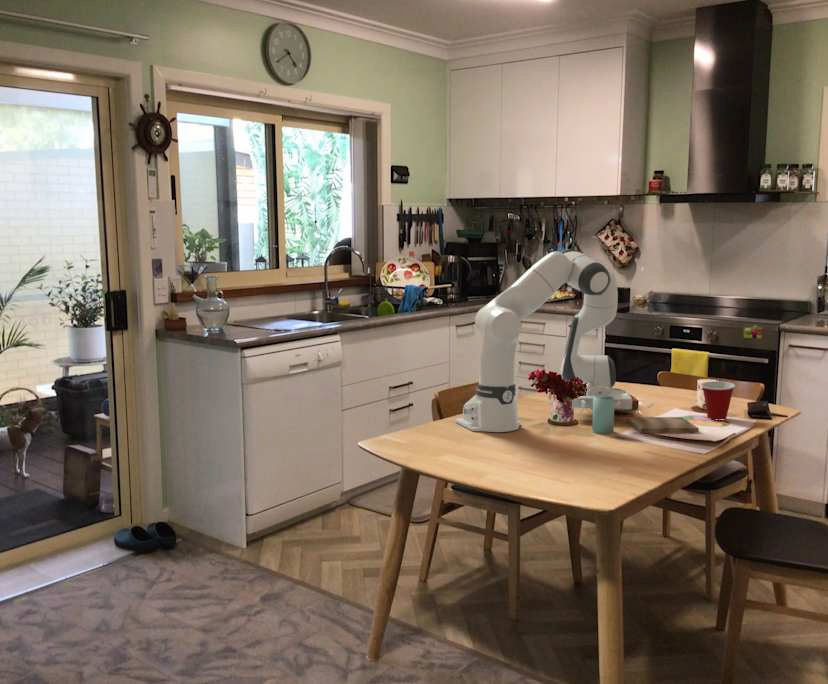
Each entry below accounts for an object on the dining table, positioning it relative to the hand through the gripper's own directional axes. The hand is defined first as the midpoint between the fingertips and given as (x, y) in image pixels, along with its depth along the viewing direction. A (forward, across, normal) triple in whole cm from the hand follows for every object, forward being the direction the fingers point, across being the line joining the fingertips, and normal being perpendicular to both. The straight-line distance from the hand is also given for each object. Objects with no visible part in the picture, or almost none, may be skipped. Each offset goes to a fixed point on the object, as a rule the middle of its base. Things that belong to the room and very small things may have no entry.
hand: (601, 406), depth 260 cm
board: (-1, +19, +6) cm, 20 cm away
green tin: (+9, 0, +6) cm, 11 cm away
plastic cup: (-17, +39, +6) cm, 43 cm away
